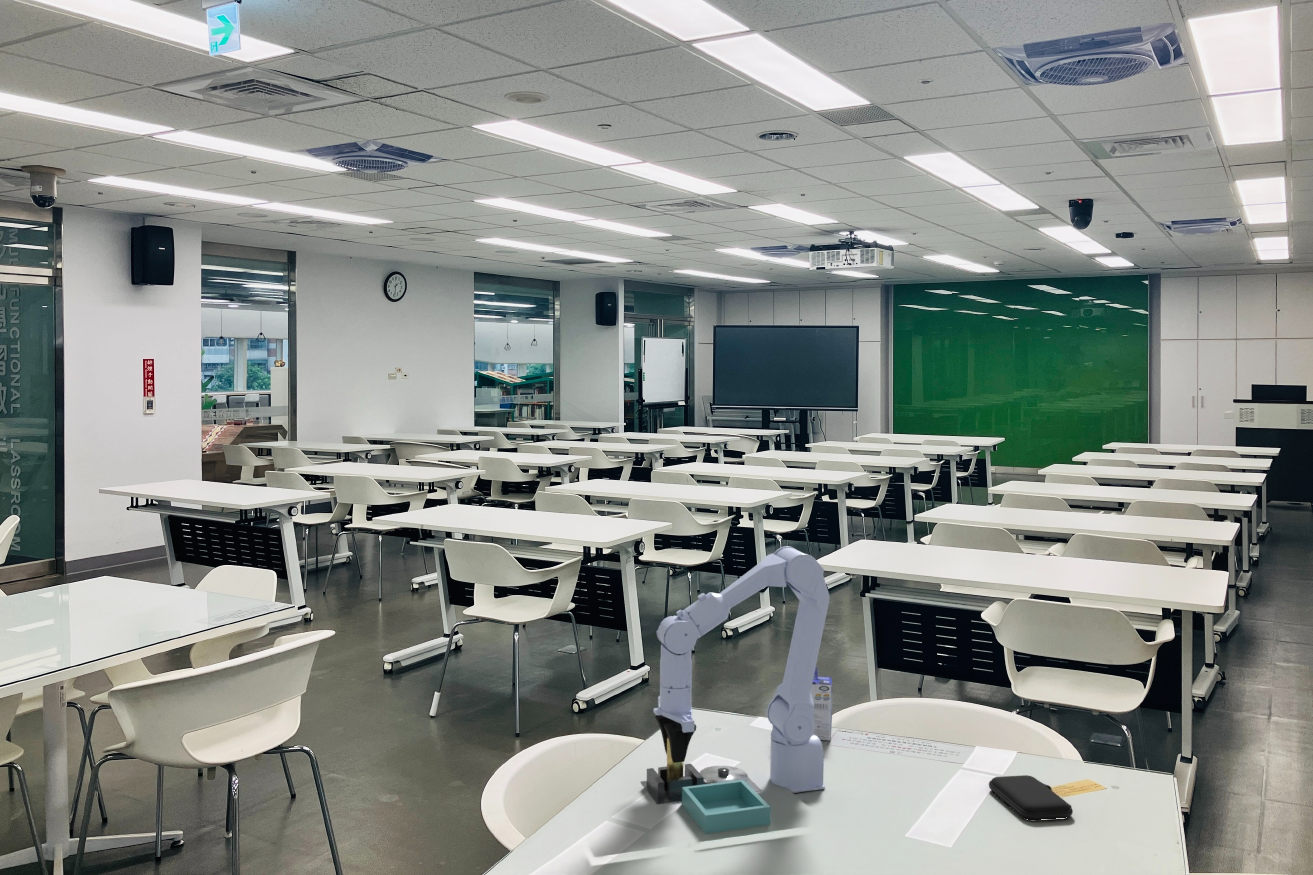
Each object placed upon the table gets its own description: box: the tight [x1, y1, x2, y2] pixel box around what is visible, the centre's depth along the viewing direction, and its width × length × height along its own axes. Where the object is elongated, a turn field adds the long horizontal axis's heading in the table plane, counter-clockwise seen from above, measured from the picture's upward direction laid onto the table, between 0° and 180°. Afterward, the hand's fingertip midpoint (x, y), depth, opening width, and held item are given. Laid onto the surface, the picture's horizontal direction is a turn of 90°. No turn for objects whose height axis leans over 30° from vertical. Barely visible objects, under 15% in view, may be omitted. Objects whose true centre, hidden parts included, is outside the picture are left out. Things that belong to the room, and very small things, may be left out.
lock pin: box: [666, 736, 684, 780], centre depth 174 cm, size 3×3×8 cm
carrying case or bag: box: [988, 774, 1074, 821], centre depth 172 cm, size 11×3×15 cm
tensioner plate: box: [640, 763, 763, 805], centre depth 176 cm, size 20×10×4 cm, turn 108°
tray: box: [681, 780, 771, 835], centre depth 164 cm, size 12×12×4 cm
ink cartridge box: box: [811, 666, 833, 741], centre depth 204 cm, size 10×6×14 cm, turn 82°
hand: (675, 757), depth 174 cm, fingers closed on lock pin, 3 cm apart
